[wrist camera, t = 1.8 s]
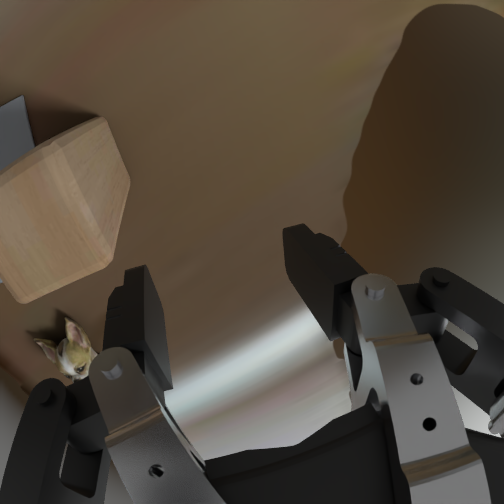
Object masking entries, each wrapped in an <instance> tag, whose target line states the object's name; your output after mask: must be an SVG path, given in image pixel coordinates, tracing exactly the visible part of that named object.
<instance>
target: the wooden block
mask: <svg viewBox="0 0 504 504" xmlns="http://www.w3.org/2000/svg"><path fill="white" fill-rule="evenodd" d="M129 188H130V177H129V175H128V172H127V170H126V168H125V165H124V163H123V160H122V158H121V156H120V153H119V151H118V148H117V146H116V143H115V141H114V138H113V136H112V133H111V131H110V128H109V125H108V123H107V120H106V119H105V118H104V117H103V116H102V117H95V118H93V119H90V120H88V121H86V122H83V123H81V124H79V125H77V126H75V127H73V128H70V129H68V130H66V131H64V132H62V133H60V134H58V135H56V136H54V137H52V138H50V139H48V140H46V141H44V142H43V143H41V144H39V145H38V146H36V147H35V148H33V149H31V150H30V151H28V152H27V153H25V154H24V155H22V156H21V157H19V158H18V159H16V160H15V161H13V162H12V163H10V164H9V165H8V166H6V167H5V168H3V169H2V170H1V171H0V279H1V280H2V281H3V283H4V284H5V286H6V287H7V289H8V290H9V291H10V293H11V294H12V295H13V297H14V298H15V299H16V300H17V301H18V302H20V303H21V304H26V303H28V302H31V301H33V300H35V299H37V298H39V297H41V296H43V295H45V294H48V293H50V292H52V291H54V290H56V289H58V288H61V287H63V286H65V285H67V284H69V283H72V282H74V281H76V280H78V279H80V278H83V277H85V276H87V275H89V274H92V273H94V272H96V271H99V270H101V269H103V268H105V267H106V266H107V265H108V264H109V263H110V262H111V261H112V260H113V255H114V250H115V246H116V241H117V236H118V232H119V227H120V223H121V219H122V215H123V211H124V207H125V203H126V199H127V195H128V191H129Z"/></svg>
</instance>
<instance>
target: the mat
mask: <svg viewBox="0 0 504 504" xmlns="http://www.w3.org/2000/svg"><path fill="white" fill-rule="evenodd" d="M33 148H35V143H34V139H33V136H32V132H31V128H30V124H29V119H28V115H27V110H26V106H25V101H24V96H23V95H22V96H20V97H18V98H16V99H14V100H12V101H10V102H8V103H7V104H5V105H3V106H1V107H0V171H1V170H2V169H3V168H5V167H6V166H8V165H9V164H10V163H12V162H13V161H15V160H16V159H18V158H19V157H21V156H22V155H24V154H25V153H27V152H28V151H30V150H31V149H33ZM2 282H3V281H2V280H1V279H0V283H2Z"/></svg>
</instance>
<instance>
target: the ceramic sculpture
mask: <svg viewBox="0 0 504 504" xmlns="http://www.w3.org/2000/svg"><path fill="white" fill-rule="evenodd" d="M64 318H65V322H66V323H65V331H66V336H67V338H65V339H63V340H62V341H61V342H60V343H59V345H57V344H56V343H55V342H53V341H52V340H47V339H37V338H35V339H34V341H35V342H36V343H37V344H39V345H40V346H41V348H42V350H43V351H44V352H45V354H46V356H47V357H48V358H49V359H50V360H51V361H52V362H53V363H54V364H56V365H57V368H58V370H59V371H60V372H62V373H63V374H64V376H66V377H67V378H69V379H71V380H72V381H73V383H75V382H77V381H79V380H81V379H83V378H85V377H86V376H88V371H89V366H90V364H91V362H92V360H93V359H94V358H95V357H96V356H97V355H98V354H97V353H96V352H95V351H94V350H93V349H92V348H91V343H90V340H89V339H88V336H87V334H86V333H85V331H84V329H83V328H82V327H81V326H80V325H79V324H78V323H77V322H75V321H73V320H71V319H69V318H68V317H64Z"/></svg>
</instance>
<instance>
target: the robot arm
mask: <svg viewBox="0 0 504 504" xmlns="http://www.w3.org/2000/svg"><path fill="white" fill-rule="evenodd" d="M283 246H284V258H285V267H286V271H287V275H288V277H289V279H290V281H291V283H292V284H293V286H294V287H295V289H296V290H297V292H298V293H299V295H300V296H301V298H302V299H303V301H304V302H305V304H306V305H307V307H308V308H309V310H310V311H311V313H312V314H313V316H314V317H315V319H316V320H317V322H318V323H319V325H320V326H321V328H322V329H323V331H324V332H325V334H326V335H327V337H328V338H329V340H330V341H333V340H335V339H338V338H340V337H341V338H342V339H343V340H344V342H345V345H344V355H345V360H346V366H347V372H348V378H349V384H350V390H351V397H352V408H351V412H349V413H347V414H345V415H342V416H340V417H338V418H336V419H333V420H332V421H331V422H329V423H328V424H326V425H325V426H324V427H322V428H321V429H320V430H318V431H317V432H315V433H314V434H312V435H311V436H309V437H308V438H306V439H305V440H303V441H302V442H300V443H299V444H297V445H294V446H288V447H279V448H268V449H255V450H245V451H242V452H238V453H234V454H230V455H226V456H222V457H218V458H214V459H209V460H205V461H204V460H203V459H202V457H201V456H200V455H199V454H198V452H197V451H196V450H195V448H194V447H193V445H192V444H191V442H190V441H189V439H188V438H187V437H186V435H185V434H184V432H183V431H182V429H181V428H180V426H179V424H178V423H177V421H176V420H175V418H174V417H173V415H172V414H171V412H170V410H169V409H168V407H167V406H166V404H165V398H164V391H166V390H170V389H173V385H172V378H171V371H170V363H169V356H168V347H167V339H166V330H165V320H164V312H163V308H162V304H161V301H160V298H159V296H158V293H157V291H156V288H155V286H154V283H153V281H152V278H151V275H150V273H149V270H148V268H147V266H146V265H142V266H138V267H135V268H131V269H127V270H125V275H124V285H123V286H119V287H116V288H115V289H114V290H113V292H112V294H111V295H110V297H109V298H108V305H107V313H106V321H105V330H104V340H103V350H102V352H101V353H99V354H98V355H97V356H96V357H95V358H94V359H93V360H92V362H91V364H90V366H89V371H88V376H86V377H85V378H83V379H81V380H79V381H77V382H75V383H73V384H71V385H69V386H67V387H66V386H65V385H64V384H63V383H62V382H61V381H60V380H58V379H55V378H49V379H45V380H43V381H41V382H40V383H38V384H37V385H36V386H35V387H34V389H33V390H32V392H31V393H30V396H29V398H28V401H27V403H26V406H25V409H24V412H23V414H22V417H21V420H20V423H19V426H18V428H17V431H16V435H15V438H14V441H13V444H12V447H11V451H10V454H9V458H8V461H7V465H6V468H5V472H4V476H3V480H2V485H1V489H0V504H104V499H105V491H106V485H107V478H108V472H109V466H110V461H111V458H112V460H113V463H114V465H115V467H116V469H117V471H118V473H119V475H120V477H121V479H122V482H123V484H124V486H125V488H126V489H127V491H128V493H129V495H130V497H131V499H132V500H133V502H134V504H504V304H503V303H501V302H500V301H498V300H497V299H495V298H493V297H492V296H490V295H489V294H487V293H485V292H484V291H482V290H481V289H479V288H477V287H475V286H474V285H472V284H471V283H469V282H467V281H466V280H464V279H462V278H461V277H459V276H457V275H456V274H454V273H452V272H450V271H448V270H446V269H443V268H437V267H434V268H428V269H426V270H424V271H423V272H422V273H421V276H420V280H419V283H416V284H407V285H396V284H395V283H394V282H393V280H391V279H390V278H388V277H386V276H383V275H380V274H368V273H367V272H366V271H365V270H364V269H363V268H362V267H361V266H360V265H359V264H358V263H357V262H356V261H355V260H354V259H353V258H352V257H351V256H350V255H349V254H347V253H346V251H345V250H344V249H343V248H342V247H340V245H339V244H338V243H337V242H336V241H335V240H334V239H333V238H331V237H328V236H326V235H324V234H322V233H318V234H314V233H313V232H312V231H311V230H310V229H309V228H308V227H307V226H306V225H305V224H303V223H302V224H299V225H295V226H291V227H287V228H284V229H283ZM448 321H450V322H452V323H453V324H455V325H456V326H458V327H459V328H460V329H462V330H463V331H465V332H466V333H468V334H469V335H471V336H472V337H473V338H474V339H475V340H476V341H477V344H478V350H474V349H472V348H471V347H469V346H468V345H467V344H465V343H464V342H462V341H460V339H458V338H457V337H455V336H454V335H452V334H451V333H450V332H448V331H447V330H445V328H446V326H447V323H448ZM451 385H452V386H453V387H454V388H456V389H457V390H458V391H460V392H461V393H462V394H463V395H465V396H466V397H467V398H468V399H470V400H471V401H472V402H473V403H475V404H476V405H477V406H478V407H480V408H481V409H482V410H483V411H485V412H486V413H487V414H488V415H490V419H491V421H490V422H489V424H488V428H489V431H490V432H491V433H492V434H498V433H499V434H500V435H501V437H502V438H500V437H496V436H493V435H489V434H485V433H481V432H478V431H474V430H471V429H467V428H465V427H464V424H463V421H462V417H461V414H460V411H459V408H458V405H457V402H456V399H455V396H454V393H453V390H452V387H451ZM66 443H67V444H68V447H67V451H66V456H65V460H64V464H63V469H62V473H61V478H59V470H60V466H61V462H62V458H63V454H64V449H65V446H66Z"/></svg>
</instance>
